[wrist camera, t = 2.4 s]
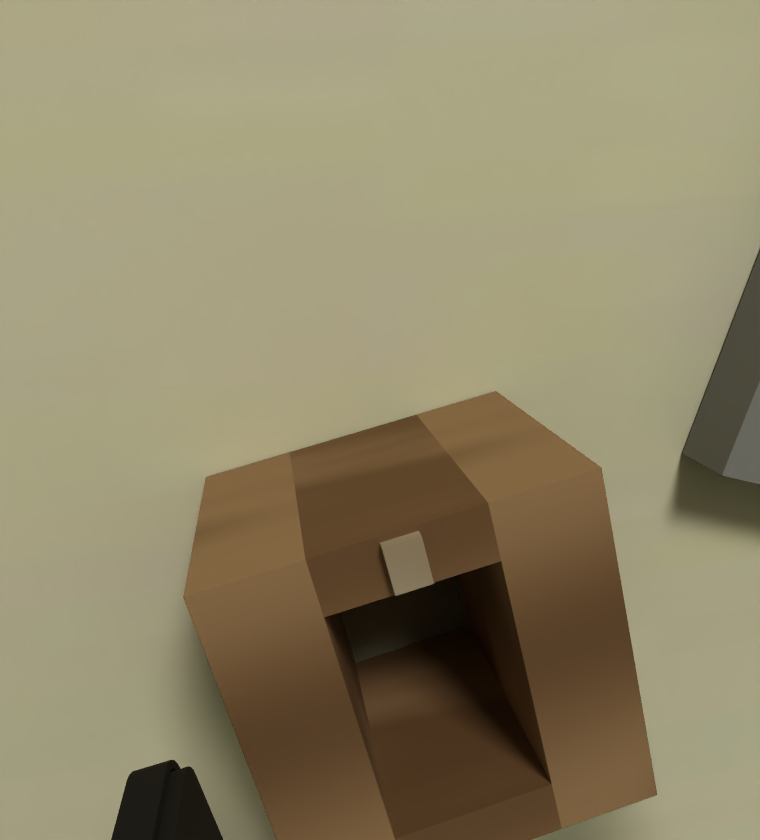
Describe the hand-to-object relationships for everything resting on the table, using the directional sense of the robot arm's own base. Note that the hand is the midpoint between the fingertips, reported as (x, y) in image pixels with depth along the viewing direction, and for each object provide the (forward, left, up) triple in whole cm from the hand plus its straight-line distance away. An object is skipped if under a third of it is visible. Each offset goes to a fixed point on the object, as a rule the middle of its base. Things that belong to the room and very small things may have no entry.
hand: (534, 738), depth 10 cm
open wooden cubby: (-1, +1, -7) cm, 7 cm away
